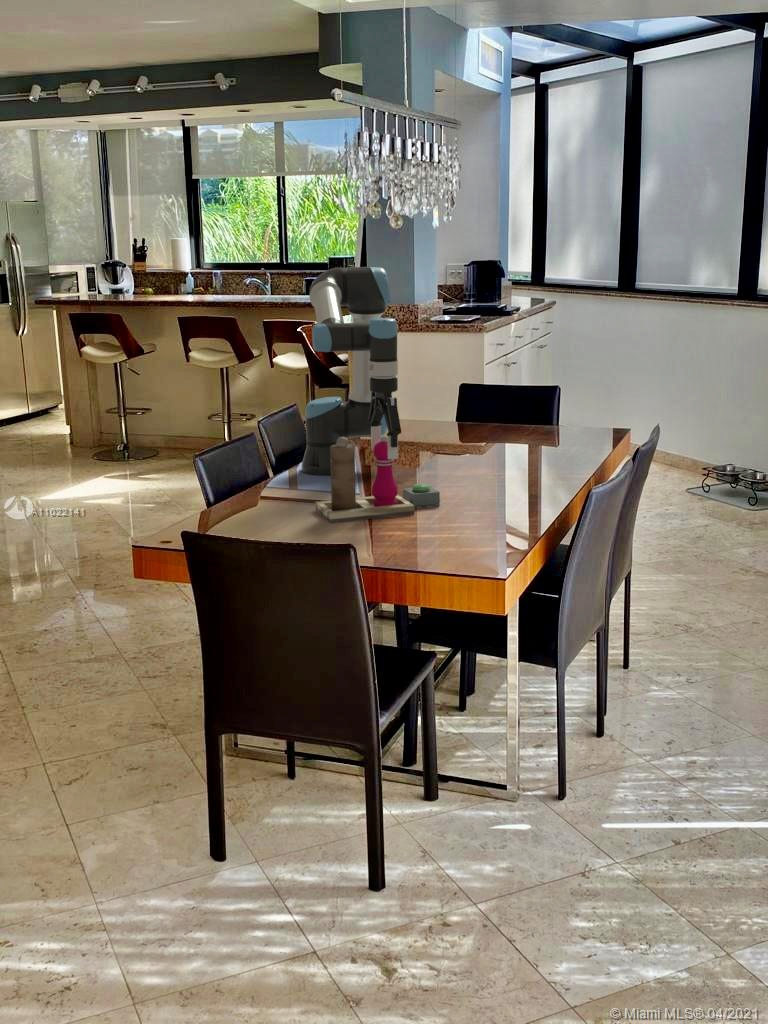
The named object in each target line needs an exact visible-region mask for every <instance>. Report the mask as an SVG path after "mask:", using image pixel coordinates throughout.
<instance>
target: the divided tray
mask: <svg viewBox="0 0 768 1024" xmlns="http://www.w3.org/2000/svg"><path fill="white" fill-rule="evenodd" d="M394 499H395V500H396V505H389V506H379V507H374V500H375V497H374V496H373V495H371V496H362V497H356V509H349V510H339V511H332V501H331V499H330V500H320V501H315V511H316V512H317V513H318V514H319V513H320V514H321V515H320V514H319V515H320V516H322V517H323V518H324V519H325V520H326V521H327V520H328V523H330V524H334V523H341V522H342V523H343V522H352V521H354V522H355V521H361V520H373V519H380V518H391V516H393V517H401V516H402V515H403V516H409V515H410V514H412V515H415V508H414V505H413V504H411V503H410V502H408V501H407V500H405V499H403V496H401V495H399V494H397V496H396V497H395V498H394ZM403 516H402V517H403Z"/></svg>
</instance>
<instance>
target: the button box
mask: <svg viewBox="0 0 768 1024" xmlns="http://www.w3.org/2000/svg"><path fill="white" fill-rule="evenodd" d="M440 497H441V494H440V491H439V490H437V489H435V488H434V487H431V486H430V490H429V491H426V492H416V491H413V486H412V487H404V488H402V498H403V499H405V500H407V501H408V502H410V503H411V504H413V505H414V509H418V508H417V507H422V508H428V507H427V506H432V507H439V505H441V503H440V501H441V499H440Z"/></svg>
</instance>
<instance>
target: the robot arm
mask: <svg viewBox="0 0 768 1024" xmlns="http://www.w3.org/2000/svg"><path fill="white" fill-rule="evenodd" d="M308 293H309V295H308V296H309V301H310V303H311V305H312V307H314V311H315V317H316V318H315V320H316V324H314V325H313V326H312V329H311V330H312V331H311V333H312V334H311V337H312V341H311V342H312V349H313V350H314V351H315V352H322V353H329V352H336V353H337V352H352V362H353V363H352V369H353V371H352V372H353V373H352V377H353V379H352V380H353V381H352V382H353V383H352V389H353V390H352V391H351V393H349V394H348V401H343V399H342V397H340V396H327V397H321V398H316V399H313V400H309V402H308V403H307V404H306V405H305V417H304V418H305V427H306V428H305V430H306V432H305V434H306V436H305V438H306V449H305V451H304V455H303V459H302V462H301V472H303V473H305V474H308V475H317V476H318V475H321V476H323V475H324V476H327V475H328V476H329V475H330V476H331V459H330V446H332V445H337V444H336V442H337V439H338V438H340V437H345V438H346V439H348V438H350V439H351V438H370V439H371V440H370V447H371V449H370V450H371V451H373V450H374V446H375V445H376V444H377V443H378V442H381V437H382V436H385V434H386V437H387V441H388V459H393V460H397V459H399V436H400V435H401V434H402V428H401V421H400V416H399V415H400V414H399V410H398V399H397V398H398V397H396V396H395V397H393V394H392V393H395V392H397V391H398V387H399V386H398V384H399V382H398V378H397V376H398V373H399V372H398V371H399V364H398V363H399V362H398V361H399V360H398V334H399V330H398V321H397V320H396V319H395V318H392V317H382V316H383V315H384V314H385V313H386V307H389V306H390V305H391V304H392V303H391V291H390V284H389V279H388V273H387V272H386V269H384V268H383V267H377V266H376V267H375V266H374V267H373V266H354V267H334V268H329V269H327V270H325V271H323V272H322V273H319V275H318V276H317V277H316V278H314V280H313V281H312V283H311V285H310V287H309V292H308ZM342 307H347V312H348V314H349V315H351V317H352V322H351V323H349V322H348V323H345V321H344V316H343V312H342ZM387 431H388V432H387Z"/></svg>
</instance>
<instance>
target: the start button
mask: <svg viewBox="0 0 768 1024" xmlns="http://www.w3.org/2000/svg"><path fill="white" fill-rule="evenodd" d="M412 487H413V491H416V492H426V491H429V490H430V487H431V485H430V484H428V483H427V484H426V483H416V484H413V485H412Z"/></svg>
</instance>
